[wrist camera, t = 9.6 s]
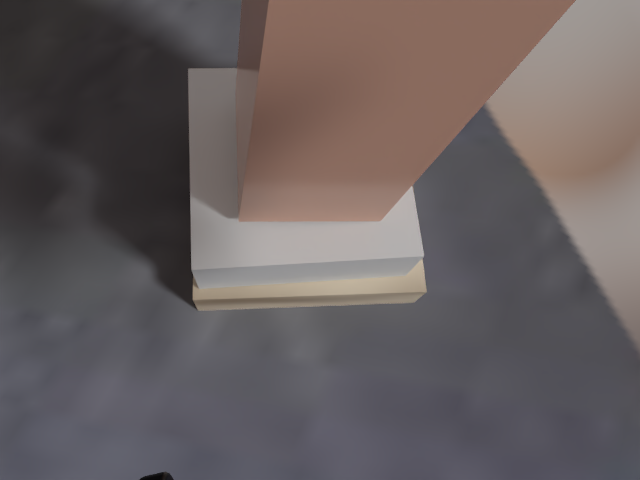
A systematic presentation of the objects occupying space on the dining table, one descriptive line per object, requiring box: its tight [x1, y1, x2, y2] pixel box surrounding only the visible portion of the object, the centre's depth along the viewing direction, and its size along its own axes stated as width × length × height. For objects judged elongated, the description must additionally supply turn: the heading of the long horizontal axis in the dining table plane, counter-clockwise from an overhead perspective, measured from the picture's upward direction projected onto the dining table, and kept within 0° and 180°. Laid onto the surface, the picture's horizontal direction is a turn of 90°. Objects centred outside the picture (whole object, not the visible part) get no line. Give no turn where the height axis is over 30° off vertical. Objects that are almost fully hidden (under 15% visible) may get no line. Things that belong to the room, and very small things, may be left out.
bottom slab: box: [193, 185, 427, 311], centre depth 23 cm, size 9×9×2 cm
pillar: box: [235, 0, 576, 222], centre depth 14 cm, size 5×5×12 cm
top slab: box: [188, 68, 424, 289], centre depth 21 cm, size 8×8×2 cm
